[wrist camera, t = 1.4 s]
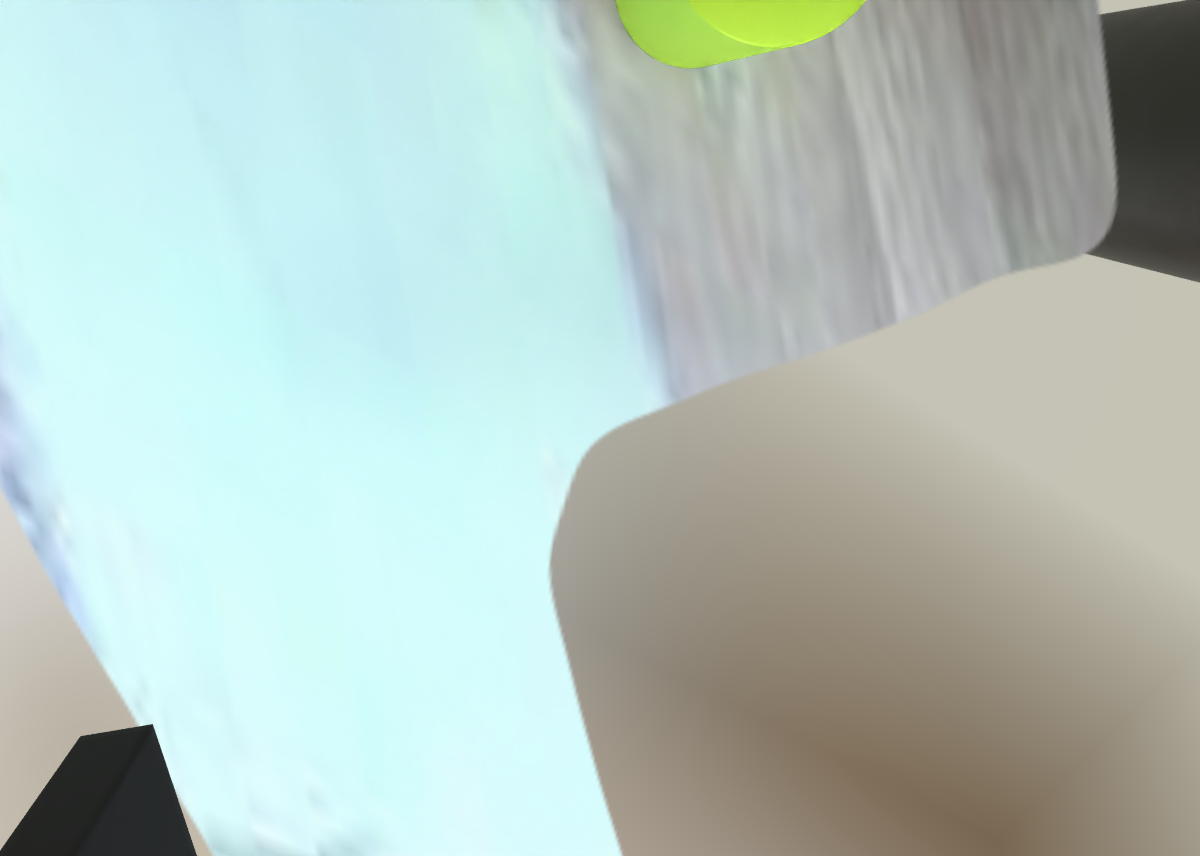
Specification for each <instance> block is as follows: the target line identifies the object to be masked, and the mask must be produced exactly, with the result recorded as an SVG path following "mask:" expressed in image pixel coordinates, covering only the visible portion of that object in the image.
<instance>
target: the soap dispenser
mask: <svg viewBox="0 0 1200 856" xmlns="http://www.w3.org/2000/svg"><path fill="white" fill-rule="evenodd" d="M865 1H866V0H616V5H617V9H618V12H619V15H620V18H621V20H622V23H623V25H624V27H625V29H626V30H627V32H628V33H629V35H630V36H631V38H632V39H633V40H634V42H635V43H636V44H637V45H638V46H639V47H640V48H641V49H642V50H643V51H645V52H646V53H647V54H649V55H650V56H651V57H653V58H655V59H656V60H658V61H660V62H663V63H665V64H668V65H671V66H675V67H680V68H701V67H706V66H711V65H715V64H719V63H723V62H728V61H732V60H736V59H740V58H745V57H749V56H753V55H757V54H762V53H766V52H770V51H774V50H779V49H783V48H787V47H791V46H796V45H800V44H803V43H807V42H810V41H812V40H815V39H817V38H820V37H822V36H824V35H826V34H827V33H829V32H831V31H832V30H834V29H836V28H837V27H839V26H840V25H841V24H843V23H844V22H845V21H846V20H848V19H849V18H850V17H851V16H852V15H853V14H854V13H855V12H856V11H857V10H858V9H859V8H860V7H861V6H862V4H863V3H864V2H865Z"/></svg>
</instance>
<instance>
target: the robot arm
mask: <svg viewBox="0 0 1200 856" xmlns="http://www.w3.org/2000/svg"><path fill="white" fill-rule="evenodd" d="M0 856H197V855H196V852H195V849H194V846H193V843H192V840H191V837H190V834H189V831H188V828H187V825H186V822H185V819H184V816H183V813H182V810H181V807H180V804H179V801H178V798H177V795H176V792H175V789H174V786H173V783H172V780H171V777H170V774H169V771H168V768H167V765H166V762H165V760H164V757H163V754H162V751H161V748H160V745H159V742H158V739H157V736H156V733H155V730H154V727H153V724H151V725H145V726H139V727H133V728H127V729H121V730H115V731H110V732H103V733H97V734H91V735H85V736H81V737H80V738H79V739H78V741H77V742H76V744H75V745H74V746H73V748H72V749H71V751H70V752H69V753H68V755H67V756H66V758H65V759H64V761H63V762H62V764H61V765H60V766H59V768H58V769H57V771H56V772H55V773H54V775H53V776H52V778H51V779H50V780H49V782H48V783H47V785H46V786H45V788H44V789H43V790H42V792H41V794H40V795H39V796H38V798H37V799H36V801H35V802H34V803H33V805H32V806H31V808H30V809H29V811H28V812H27V813H26V815H25V816H24V818H23V819H22V820H21V822H20V823H19V825H18V826H17V828H16V829H15V830H14V832H13V833H12V835H11V836H10V837H9V839H8V840H7V842H6V843H5V845H4V846H3V848H2V849H1V850H0Z"/></svg>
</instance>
